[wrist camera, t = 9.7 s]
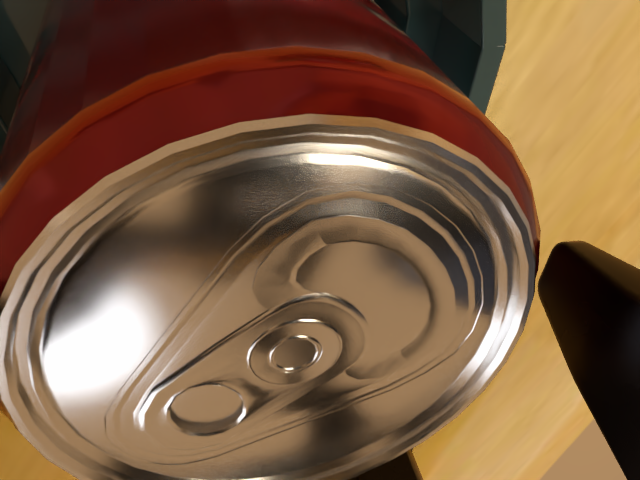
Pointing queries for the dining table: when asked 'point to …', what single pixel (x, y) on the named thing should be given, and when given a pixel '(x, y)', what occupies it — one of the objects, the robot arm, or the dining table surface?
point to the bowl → (398, 3)
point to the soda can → (250, 242)
